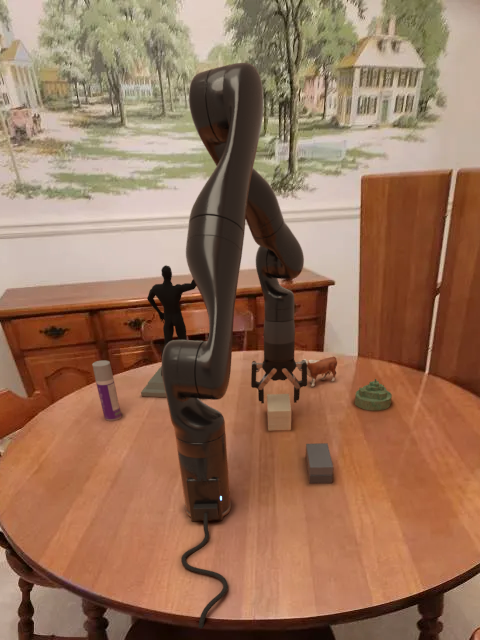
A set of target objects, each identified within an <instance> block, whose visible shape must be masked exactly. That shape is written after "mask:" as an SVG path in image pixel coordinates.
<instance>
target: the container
mask: <svg viewBox="0 0 480 640" xmlns="http://www.w3.org/2000/svg"><path fill="white" fill-rule="evenodd" d="M91 365H92V369H93V375H94V379H95V384H96V389H97V392H98V397H99V401H100V405H101V410H102V413H103V418H104V420H105V421H108V422H114V421H118V420H120V419H121V418H122V412H121V406H120V402H119V397H118V393H117V388H116V383H115V378H114V375H113V370H112V366H111V362H110V361H109V360H105V359H104V360H103V359H102V360H97V361H94V362H93V363H92V364H91Z"/></svg>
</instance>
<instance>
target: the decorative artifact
mask: <svg viewBox="0 0 480 640" xmlns="http://www.w3.org/2000/svg"><path fill="white" fill-rule="evenodd" d="M354 396H355V397H354V404H355V406H356V407H357V408H360V409H362V410H365V411H371V412H372V411H373V412H377V411H384V410H387V409H389V408H390V407H391V404H392V397H393V394H392V393H391V392H390V391H388V390H387V388H386V387H385V385H384V384H383V383H380V382H379V380H377V378H374V380H373V381H369V383H368V384H365V385H363V386H362V387H359V388H358V390H356V392H355V395H354Z"/></svg>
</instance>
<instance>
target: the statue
mask: <svg viewBox="0 0 480 640" xmlns="http://www.w3.org/2000/svg"><path fill="white" fill-rule="evenodd" d="M160 271H161V277H162V278H163V281H162V283H155V284H153V286H151V288H150V289H149V292H148V295H147V297H146V298H147V299H146V300H147V301H148V303H149V304H150V305H151V307H152V308H153V309H154V310H155V311H156V312H157V315H158V316H159V320H160V323H162V324H163V327H162V331H163V332H162V333H163V338H164V345H163V348H162V350H161V354H160V355H161V360H162V355H163V351H164V348H165V346H166V345H167V343H168V342H170V341H172V340H174V339H173V338H174V334H175V335H176V337H177V340H187V326H186V323H185V320H184V319H185V318H184V316H183V313H182V309H181V306H180V302H181V299H182V295H183V293H187V292H190V291H193V290H195V289H196V288H197V286H196V283H195V281H194V279H193V278H192V280H191V282H186V283H182V284H180V283H176V284H175V285H173V282H172V277H173V272H172V268H171V266H170V265H167V264H165V265H164V266H162V268H161V270H160ZM155 297H156V298H157V299H158V301H159V302H160V304H161V306H162V307H163V311H161V309H160V308H159V307H158V305H157V303H156V300H155ZM140 394H141V397H145V398H146V397H147V398H167V397H166V393H165V388H164V383H163V377H162V365H161V366H160V367H159V368H158V370H157V371H155V373H154V374H153V375H152V377H150V379H149V380H148V382H147V384H146V385H145V387H143V389H142V390H141V391H140Z"/></svg>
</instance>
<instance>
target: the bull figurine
mask: <svg viewBox="0 0 480 640" xmlns="http://www.w3.org/2000/svg"><path fill="white" fill-rule="evenodd" d="M302 360H305V361H306V364H307V377H309V378H310V379H311V381H310V382H309V383H310V384H311V385H310V387H311V388H314V387H315V386H316V381H317V378H318V376H319V375H321V377H322V378H321V379H320V380H321V381H325V379H327V376H330V375H331V374H332V379H331V382H332V383H334V382H335V380H336V375H337V371H336V369H337V365H338V360H337V357H336V356H330V357H326V358H325V357H324V358H321V359H309V360H307V358H303V359H302ZM302 360H301V361H300V362H302ZM296 368H297V370H299V368H298V367H296Z"/></svg>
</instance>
